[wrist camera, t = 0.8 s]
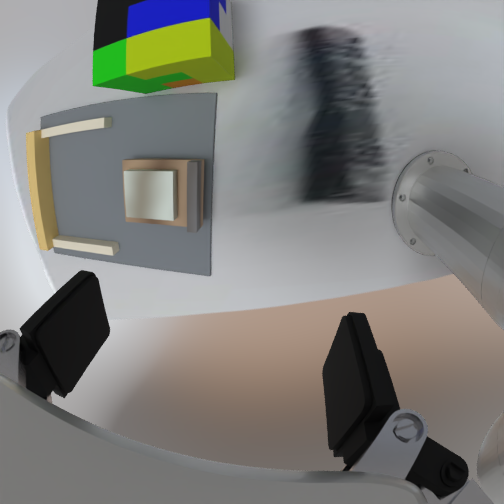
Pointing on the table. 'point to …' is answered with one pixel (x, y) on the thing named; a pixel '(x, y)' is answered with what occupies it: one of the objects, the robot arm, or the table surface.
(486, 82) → the table surface
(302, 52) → the table surface
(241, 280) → the table surface
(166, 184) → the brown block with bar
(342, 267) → the table surface
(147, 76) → the puzzle toy
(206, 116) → the mat
